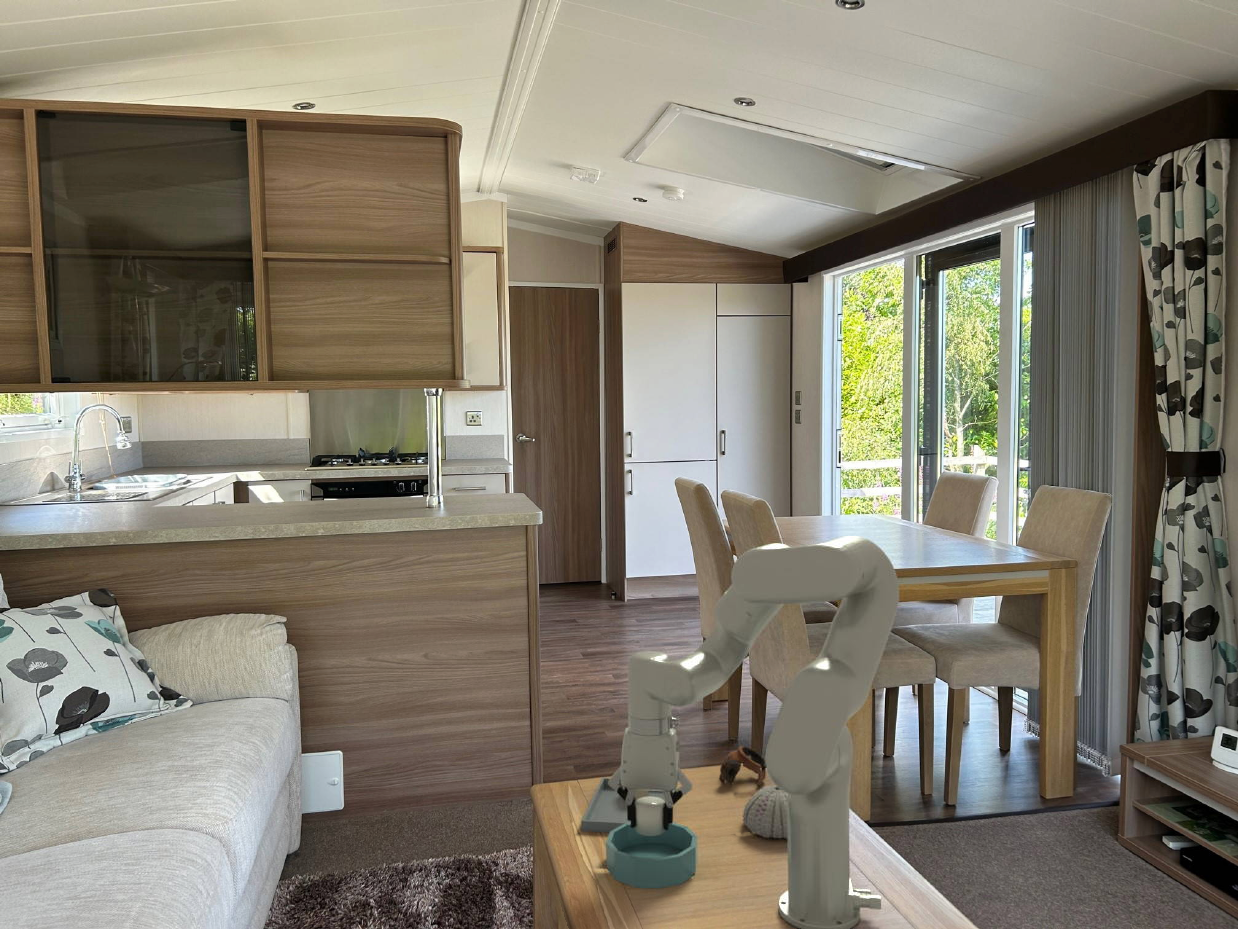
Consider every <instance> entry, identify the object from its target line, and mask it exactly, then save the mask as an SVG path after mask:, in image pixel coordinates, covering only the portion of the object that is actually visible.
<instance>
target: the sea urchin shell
mask: <svg viewBox="0 0 1238 929" xmlns="http://www.w3.org/2000/svg"><path fill="white" fill-rule="evenodd" d="M787 799H788V793H786V792H784V791H783V790H781V789H780V788H779V787H777V786H776V785H771V784H770V785H766V786H763V787H762V788H759V790H757V791H756V792H755V793H754V794H753V795H752V796H751V797H750V798H748V801H747V802H746V804H745V805H744V808H743V811H742V812H743V815H741V816H742V818H743V819H742V821H743V822H744V826H745V827H747V830H749V831H751V832H753V834H755V835H759V836H762V837H763V838H774V839H779V840H781V839H782V838H784V839H786V840H788V830H787Z"/></svg>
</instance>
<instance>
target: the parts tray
mask: <svg viewBox="0 0 1238 929" xmlns="http://www.w3.org/2000/svg"><path fill="white" fill-rule="evenodd" d="M610 778H611V777H601V779H600V780H599V782H598V784H597V785H598V786H597V787H596V789H595V791H594V793H593V795H592V798H591V800H590V802H589V803H588V806H587V808H586V810H585V813H584V815H583V817H582V818H581V820H580V821H581V823H580V825H581V826H580V827H581V830H580V831H581V832H590V833H591V832H592V833H593V832H594V833H610V831H612V830H614V829H616V828H617V827H619V826H621V825H623V824H625V823H630V822H631V821H628V820H627V805H626V803H625V801H624V800H623V799H622V798H621V796H620V795H619V794H618V793H617V791H615V790H614V789H613V788H612V787H610V786H609V785H608V781H609V779H610ZM619 782H620V783H621V778H620V779H619ZM621 785H622V784H621ZM677 789H678V788H676V789H675V790H673V793H674V792H675V791H676V790H677ZM649 796H651V797H658V798H661V799H663V800H664V801H665V799H664V795H663V792H662V791H651V790H649Z"/></svg>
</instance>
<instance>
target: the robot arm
mask: <svg viewBox="0 0 1238 929" xmlns="http://www.w3.org/2000/svg"><path fill="white" fill-rule="evenodd" d="M730 578H731V585H730V586H729V587H728V588H727V589H726V591H725V592H724V593H723V594H722V595H721V597H720V598H719V599H718V600H717V602H716V603H715V605H714V606H713V615H714V617H715V619H716V621H717V622H716V624H715V625H714V627H713V628H712V630H711V632H710V633H709V635H708V636H707V637H706V638H705V639H704V641H703V642H702V644H700V646H699V647H698V648H697V649H696V650H695V651H694V652H692V653H690V654H687V655H685V656H683V657H681V658H679V659H676V660H672V661H671V659H670V657H669V655H668V654H666V653H664V652H660V651H655V650H644V651H643V650H642V651H638V652H635V653H633V654H631V655H630V657H629V659H628V661H627V693H628V694H627V695H628V696H627V698H628V699H627V700H628V702H627V703H628V704H627V706H628V707H627V708H628V710H627V711H628V712H627V713H628V716H627V718H628V719H627V721H628V722H627V723H628V726H627V727H626V728H625V730H624V734H623V737H622V738H623V740H622V747H621V757H620V758H621V760H620V761H621V762H620V766H619V767H618V769H617V770H616V771H615V772H614V773H613V774H612V775H611V777H609V778H610V779H609V781H608V785H609V786H610V787H612V788H613V789H614V790H615V791H617V793H618V794H619V795H620V796H621V798H622V799H623V800H624V801H625V803H626V805H627V820H628V821H631V828H634V827H635V826H636V819H635V802H636V799H635V797H634V795H635V792H636V790H651V791H662V792H663V795H664V799H665V806H664V829H665V830H668V827H669V823H670V824H672V823H673V822H674V805H675V804H676V803H678V801H680V800H681V799H682V798H683V797H684V796H686V795H687V794H688V793H689V792H691V790H692V789H693V783H692V782H691V781H690V780H689V778H688V777H687V776H686V775H685V773H684V772H683V771H682V769H681V768H680V751H679V743H678V734H677V732H676V729H675V727H680V721H681V720H680V718H679V717H678V718H676V717H674V715H672V706H673V707H677V708H685V707H690V706H691V705H693V704H695V703H696V702H698V701H700V700H702V699H704V698H705V697H707V696H708V695H711V694H712V693H714V692H716V691H718V690H719V689H720V688H721V687H722V686H723V685H724V684H725V683H726V682H727V681H728V680H729V678H730V677H731V676H732V675H733V673H735V671H736V670H737V669H738V668H739V667H740V665H741V664H742V662H744V660H745V658H746V657H747V656H748V654H749V652H750V651H751V649H752V647H753V646H754V645H755V641H756V640H757V638H758V637H759V635H760V634H761V633H762V632H763V630H764V629H765V628H766V627H767V626H768V624H769V623H770V622H771V621H772V620H773V619H774V618H775V616H776V615H777V613H779V611H780V610H781V608H783V606H784V605H794V604H812V603H815V604H819V603H826V602H827V603H828V602H834V601H840V600H841V603H840V605H839V607H838V609H837V611H836V613H835V614H834V617H833V619H832V621H831V624H830V627H829V631H828V634H827V636H826V639H825V641H824V644H823V646H822V648H821V650H820V653H819V654H818V656H817V657H816V658H815V659H814V660H813V661H812V662H811V663H809V664H808V665H806V666H805V667H803V668H802V669H800V670H799V671H798V672H797V674H796V675H794V677H793V679H792V680H791V682H790V683H789V685H788V687H787V689H786V691H785V694H784V697H783V698H782V702H781V706H780V708H779V711H778V714H777V716H776V719H775V722H774V725H773V728H772V731H771V733H770V736H769V739H768V742H767V745H766V748H765V750H766V751H765V757H764V759H765V761H766V767H767V768H766V772H767V773H768V775H769V778H770V779H771V781H772V782H773V784H775V785H774V786H777V787H779V788H780V789H781V790H783V791H784V792H786V793H788V799H787V830H788V839H787V890H786V891H785V892H784V893H782V894H781V895H780V897H779V899H778V905H777V906H778V912H779V914H780V916H781V918H783V919H784V920H785V921H786V922H787V923H789V924H790V925H792V926H793V927H796V928H798V929H800V928H801V929H852V928H853V927H855V926H856V925H857V924H858V923H859V921H860V919H861V909H862V908H863V909H870V910H881V909H882V898H881V895H872V890H871V889H870V888H856V887H855V886H853V885H852V884H853V883H852V880H851V876H850V873H851V872H850V871H851V870H850V865H851V864H850V795H851V794H850V790H851V777H852V770H853V769H852V768H853V758H854V756H853V755H854V744H853V739H852V735H851V732H850V729H849V727H848V726H847V722H848V721H849V719H851V718H852V717H853V716H854V715H855V714H856V713H857V712H859V711H860V710H861V709H862V708H863V706H864V704H865V703H866V701H867V699H868V697H869V694H870V691H871V689H872V688H871V687H872V685H873V681H874V679H875V677H876V673H877V670H878V668H879V666H880V662H881V659H882V657H883V655H884V651H885V647H886V644H887V642H888V640H889V636H890V633H891V631H892V628H893V625H894V622H895V619H896V615H897V612H898V608H899V602H900V586H899V581H898V580H899V579H898V575H897V573H896V570H895V568H894V565H893V563H892V561H891V559H889V557H888V555H887V554H886V553H885V552H884V550H883V549H881V547H880V546H879V545H877V544H876V543H874V542H873V541H872V540H870V539H868V538H865V537H863V536H857V535H847V536H841V537H838V538H835V539H834V538H833V539H831V540H829V541H825V542H822V543H818V544H816V543H815V544H809V545H800V546H789V545H787V544H784V543H778V542H777V543H774V542H773V543H769V544H764V545H761V546H758V547H754V548H751V549H748V550H746V551H744V552H743V553H742V554H740V555H739V557H738V558H737V559H736V560H735V562H734V565H733V566H732V569H731V577H730ZM673 727H674V728H673ZM620 778H621V783H620V782H619V779H620ZM678 783H680V785H681V786H680V787H679V788H677V787H678ZM621 784H622V785H621ZM627 788H628V789H629V790H628V789H627ZM676 788H677V790H676V791H675V792H674V793H673V790H675V789H676Z"/></svg>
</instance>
